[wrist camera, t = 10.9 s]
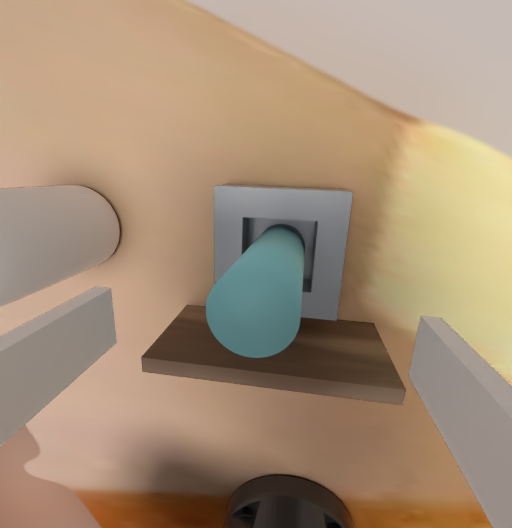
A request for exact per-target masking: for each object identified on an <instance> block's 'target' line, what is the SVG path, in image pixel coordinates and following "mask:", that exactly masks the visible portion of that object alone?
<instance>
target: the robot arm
mask: <svg viewBox="0 0 512 528" xmlns="http://www.w3.org/2000/svg"><path fill="white" fill-rule="evenodd" d="M116 343H117V342H116V332H115V323H114V313H113V303H112V293H111V288H105V287H94V288H92V289H90V290H88V291H86V292H84V293H82V294H80V295H78V296H76V297H74V298H73V299H71V300H69V301H67V302H65V303H63V304H61V305H59V306H57V307H55V308H54V309H52V310H50V311H48V312H46V313H44V314H42V315H40V316H38V317H36V318H34V319H33V320H31V321H29V322H27V323H25V324H23V325H21V326H19V327H17V328H15V329H13V330H12V331H10V332H8V333H6V334H4V335H2V336H0V446H2V445H3V444H4V443H5V442H6V441H7V440H8V439H9V438H10V437H12V436H13V435H14V434H15V433H16V432H17V431H18V430H20V429H21V428H22V427H23V426H24V425H25V424H26V423H27V422H28V421H30V420H31V419H32V418H33V417H34V416H35V415H36V414H37V413H39V412H40V411H41V410H42V409H43V408H44V407H45V406H46V405H47V404H49V403H50V402H51V401H52V400H53V399H54V398H55V397H56V396H58V395H59V394H60V393H61V392H62V391H63V390H64V389H65V388H66V387H68V386H69V385H70V384H71V383H72V382H73V381H74V380H75V379H77V378H78V377H79V376H80V375H81V374H82V373H83V372H84V371H86V370H87V369H88V368H89V367H90V366H91V365H92V364H93V363H94V362H96V361H97V360H98V359H99V358H100V357H101V356H102V355H103V354H105V353H106V352H107V351H108V350H109V349H110V348H111V347H112V346H113V345H115V344H116ZM408 376H409V378H410V380H411V382H412V384H413V385H414V387H415V389H416V391H417V393H418V394H419V396H420V398H421V400H422V402H423V403H424V405H425V407H426V409H427V411H428V412H429V414H430V416H431V418H432V420H433V421H434V423H435V425H436V427H437V429H438V430H439V432H440V434H441V436H442V437H443V439H444V441H445V443H446V445H447V446H448V448H449V450H450V452H451V454H452V455H453V457H454V459H455V461H456V463H457V464H458V466H459V468H460V470H461V472H462V473H463V475H464V477H465V479H466V481H467V482H468V484H469V486H470V488H471V490H472V491H473V493H474V495H475V497H476V499H477V500H478V502H479V504H480V506H481V507H482V509H483V511H484V513H485V515H486V516H487V518H488V520H489V522H490V524H491V525H492V527H493V528H512V386H511V385H510V384H509V383H508V382H507V381H506V380H505V379H504V378H503V377H502V376H501V375H500V374H499V373H498V372H497V371H496V370H495V369H493V368H492V367H491V366H490V365H489V364H488V363H487V362H486V361H485V360H484V359H483V358H482V357H481V356H480V355H479V354H478V353H477V352H476V351H475V350H474V349H473V348H472V347H471V346H470V345H469V344H468V343H467V342H466V341H465V340H464V339H463V338H462V337H460V336H459V335H458V334H457V333H456V332H455V331H454V330H453V329H452V328H451V327H450V326H449V325H448V324H447V323H446V322H445V321H444V320H443V319H442V318H435V317H424V316H421V318H420V323H419V327H418V332H417V337H416V342H415V347H414V351H413V356H412V361H411V366H410V370H409V375H408ZM224 528H353V525H352V520H351V517H350V515H349V513H348V511H347V509H346V508H345V506H344V505H343V504H342V502H341V501H340V500H339V499H338V498H337V497H336V496H334V495H333V494H332V493H331V492H329V491H328V490H326V489H325V488H323V487H321V486H319V485H317V484H315V483H313V482H310V481H307V480H304V479H301V478H296V477H291V476H266V477H261V478H257V479H254V480H252V481H250V482H247V483H246V484H244V485H243V486H241V487H240V488H239V489H238V490H237V491H236V492H235V493H234V494H233V496H232V497H231V499H230V501H229V505H228V509H227V513H226V518H225V523H224Z"/></svg>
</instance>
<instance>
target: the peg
mask: <svg viewBox="0 0 512 528" xmlns="http://www.w3.org/2000/svg"><path fill="white" fill-rule="evenodd" d="M304 255H305V242H304V239H303V237H302V235H301V233H300V232H299V231H298V230H297V229H296V228H294V227H293V226H290V225H287V224H275V225H272V226H270V227H269V228H267V229H266V230H265V231H264V232H263V233H262V234H261V235H260V236H259V237H258V238H257V240H256V241H255V242H254V243H253V244H252V245H251V246H250V247H249V248H248V249H247V250H246V251H245V252H244V253H243V255H242V256H241V257H240V258H239V259H238V260H237V261H236V262H235V263H234V264H233V265H232V266H231V267H230V268H229V270H228V271H227V272H226V273H225V274H224V275H223V276H222V277H221V278H220V279H219V280H218V281H217V282H216V283H215V285H214V286H213V287H212V289H211V291H210V293H209V295H208V298H207V302H206V318H207V322H208V325H209V327H210V329H211V331H212V333H213V335H214V336H215V337H216V339H217V340H218V341H219V342H220V343H221V344H222V345H223V346H224V347H226V348H227V349H229V350H230V351H232V352H234V353H236V354H239V355H242V356H245V357H251V358H263V357H268V356H272V355H275V354H277V353H279V352H281V351H282V350H284V349H285V348H286V347H287V346H289V344H290V343H291V342H292V341H293V339H294V338H295V336H296V334H297V332H298V329H299V326H300V319H301V303H302V287H303V271H304Z"/></svg>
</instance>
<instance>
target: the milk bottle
mask: <svg viewBox="0 0 512 528" xmlns="http://www.w3.org/2000/svg"><path fill="white" fill-rule="evenodd" d="M119 236H120V229H119V223H118V218H117V216H116V214H115V212H114V210H113V208H112V207H111V205H110V204H109V203H108V202H107V201H106V200H105V198H103V197H102V196H101V195H99V194H98V193H97V192H95V191H93V190H91V189H89V188H86V187H83V186H78V185H61V186H39V187H19V188H1V189H0V307H1V306H4V305H6V304H9V303H11V302H14V301H16V300H19V299H21V298H23V297H26V296H28V295H30V294H33V293H35V292H37V291H40V290H42V289H44V288H47V287H49V286H51V285H53V284H56V283H58V282H60V281H62V280H65V279H67V278H69V277H72V276H74V275H76V274H78V273H81V272H83V271H85V270H87V269H89V268H92V267H94V266H96V265H98V264H100V263H102V262H104V261H106V260H107V259H108V258H109V257H110V256H111V255H112V254H113V253H114V251H115V249H116V247H117V244H118V242H119Z"/></svg>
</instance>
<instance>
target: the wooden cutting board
mask: <svg viewBox="0 0 512 528" xmlns="http://www.w3.org/2000/svg"><path fill="white" fill-rule="evenodd" d="M141 360H142V372H149V373H156V374H164V375H172V376H180V377H187V378H195V379H203V380H210V381H218V382H226V383H234V384H241V385H249V386H257V387H264V388H272V389H280V390H288V391H295V392H303V393H311V394H319V395H326V396H334V397H342V398H349V399H357V400H365V401H373V402H380V403H388V404H396V405H403V401H404V396H405V392H406V389H405V387H404V385H403V383H402V381H401V379H400V377H399V375H398V373H397V371H396V369H395V366H394V364H393V362H392V360H391V358H390V356H389V354H388V352H387V350H386V348H385V346H384V344H383V342H382V340H381V338H380V336H379V333H378V331H377V329H376V327H375V325H374V323H364V322H354V321H343V320H337V321H334V320H324V319H314V318H304V317H301V319H300V326H299V329H298V332H297V334H296V336H295V338H294V339H293V341H292V342H291V343H290V344H289V346H287V347H286V348H285V349H284V350H282V351H281V352H279V353H277V354H275V355H272V356H268V357H263V358H251V357H245V356H242V355H239V354H236V353H234V352H232V351H230V350H229V349H227V348H226V347H224V346H223V345H222V344H221V343H220V342H219V341H218V340H217V339H216V337H215V336H214V335H213V333H212V331H211V329H210V327H209V325H208V322H207V318H206V307H200V306H190V305H187V306H186V307H185V308H184V309H183V310H182V311H181V312H180V314H179V315H178V316H177V317H176V318H175V319H174V320H173V322H172V323H171V324H170V325H169V326H168V327H167V328H166V330H165V331H164V332H163V333H162V334H161V335H160V337H159V338H158V339H157V340H156V341H155V342H154V343H153V345H152V346H151V347H150V348H149V349H148V350H147V351H146V353H145V354H144V355H143V356H142V357H141Z"/></svg>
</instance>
